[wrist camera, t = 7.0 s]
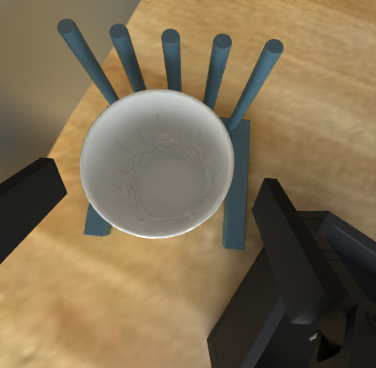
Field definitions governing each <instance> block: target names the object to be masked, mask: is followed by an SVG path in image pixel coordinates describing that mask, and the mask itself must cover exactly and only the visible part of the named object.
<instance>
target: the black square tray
mask: <svg viewBox="0 0 376 368" xmlns="http://www.w3.org/2000/svg"><path fill="white" fill-rule="evenodd" d="M297 212H298V214H299V215H300V217H301V218H302V220H303V222H304V223H305V225H306V226H307V228H308V230H309V231H317V232H318V233H319V234H320V235H321V236H322V237H324V238H325V239H326V240H327V241H328V243H329V244H330V246H331V247H332V249H333V250H334V253H336V254H337V256H338V257H339V259H340V262H342V263H343V264H344V266H345V267H346V269H347V270H348V272H349V273H350V275H351V276H352V278H353V279H354V280H355V282H356V283H357V285H358V286H359V288H360V289H361V291H362V292H363V293H364V295H365V296H366V298H367V299H368V300H369V301H370V302H371V303H374V304H376V242H375V241H373V240H372V239H370V238H369V237H367V236H366V235H364V234H363V233H361V232H360V231H358V230H357V229H355V228H354V227H352V226H351V225H349V224H348V223H346V222H345V221H343V220H342V219H340V218H339V217H337V216H336V215H334V214H333V213H331V212H330V211H297ZM318 329H320V326H319V324H318V321H317V319H316V320H315V321H314V322H312V323H311V324H309V325H306V324H295V323H290V320H289V317H288V314H287V311H286V308H285V305H284V302H283V299H282V297H281V294H280V291H279V288H278V285H277V282H276V279H275V276H274V273H273V270H272V267H271V264H270V262H269V259H268V256H267V253H266V250H265V247H263V249H262V250H261V252H260V253H259V255H258V257H257V258H256V260H255V262H254V263H253V265H252V267H251V268H250V270H249V271H248V273H247V275H246V276H245V278H244V280H243V281H242V283H241V285H240V286H239V288H238V289H237V291H236V293H235V294H234V296H233V298H232V299H231V301H230V302H229V304H228V306H227V307H226V309H225V311H224V312H223V314H222V316H221V317H220V319H219V320H218V322H217V324H216V325H215V327H214V329H213V330H212V332H211V334H210V335H209V337H208V338H207V343H208V349H209V355H210V361H211V367H212V368H308V367H309V363H310V359H311V355H312V351H313V347H314V343H315V339H316V338H315V339H313V340H312V341H310V340H309V339H308V338H309V336H310V335H311V334H312V333H314V332H315V331H317V330H318Z"/></svg>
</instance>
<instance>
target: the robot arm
mask: <svg viewBox="0 0 376 368" xmlns="http://www.w3.org/2000/svg"><path fill="white" fill-rule="evenodd" d="M66 194H67V191H66V188H65V186H64V184H63V181H62V179H61V176H60V174H59V171H58V169H57V166H56V164H55V162H54V159H52V158H39V159H38V160H36V161H35V162H33V163H32V164H30V165H29V166H27V167H26V168H24V169H23V170H21V171H19V172H18V173H16V174H15V175H13V176H12V177H10V178H9V179H7V180H5V181H4V182H2V183H1V184H0V264H1V263H2V262H3V261H4V260H5V259H6V258H7V257H8V255H9V254H10V253H11V252H12V251H13V250H14V249H15V248H16V247H17V246H18V245H19V244H20V243H21V242H22V241H23V240H24V239H25V238H26V236H27V235H28V234H29V233H30V232H31V231H32V230H33V229H34V228H35V227H36V226H37V225H38V224H39V223H40V222H41V221H42V220H43V219H44V217H45V216H46V215H47V214H48V213H49V212H50V211H51V210H52V209H53V208H54V207H55V206H56V205H57V204H58V203H59V202H60V201H61V200H62V199H63V197H64V196H65V195H66ZM252 212H253V215H254V218H255V221H256V224H257V226H258V229H259V232H260V235H261V238H262V241H263V244H264V247H265V250H266V253H267V256H268V259H269V262H270V264H271V267H272V270H273V273H274V276H275V279H276V282H277V285H278V288H279V291H280V294H281V297H282V299H283V302H284V305H285V308H286V311H287V314H288V317H289V320H290V323H295V324H306V325H309V324H311V323H312V322H314V321H315V320H316V319H317V321H318V324H319V326H320V329H318V330H317V331H315V332H314V333H312V334H311V335H310V336H309V338H308V339H309V340H310V341H312V340H313V339H315V338H316V339H315V343H314V347H313V351H312V355H311V359H310V363H309V367H308V368H376V304H374V303H371V302H370V301H369V300H368V299H367V298H366V296H365V295H364V293H363V292H362V291H361V289H360V288H359V286H358V285H357V283H356V282H355V280H354V279H353V278H352V276H351V275H350V273H349V272H348V270H347V269H346V267H345V266H344V264H343V263H342V262H340V259H339V257H338V256H337V254H336V253H334V250H333V249H332V247H331V246H330V244H329V243H328V241H327V240H326V239H325V238H324V237H322V236H321V235H320V234H319V233H318V232H317V231H309V230H308V228H307V226H306V225H305V223H304V222H303V220H302V218H301V217H300V215H299V214H298V212H297V210H296V209H295V207H294V206H293V204H292V202H291V201H290V199H289V198H288V196H287V195H286V193H285V191H284V190H283V188H282V187H281V185H280V183H279V182H278V180H277V179H271V178H264V180H263V183H262V185H261V188H260V191H259V193H258V196H257V198H256V201H255V203H254V206H253V208H252Z"/></svg>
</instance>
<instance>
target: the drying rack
mask: <svg viewBox="0 0 376 368" xmlns="http://www.w3.org/2000/svg"><path fill="white" fill-rule="evenodd" d="M57 29H58V32H59V33H60V34H61V36H62V37H63V39H64V40H65V42H66V43H67V44H68V46H69V47H70V49H71V50H72V52H73V53H74V54H75V56H76V57H77V59H78V60H79V62H80V63H81V64H82V66H83V67H84V69H85V70H86V71H87V73H88V74H89V76H90V77H91V79H92V80H93V82H94V83H95V84H96V86H97V87H98V89H99V90H100V92H101V93H102V94H103V96H104V97H105V99H106V100H107V102H108V103H109V104H110V105H111V104H112V103H114V102H116V101H117V100H119V98H118V96H117V94H116V92H115V91H114V89H113V87H112V86H111V84H110V82H109V80H108V79H107V77H106V75H105V73H104V72H103V70H102V68H101V67H100V65H99V63H98V61H97V60H96V58H95V56H94V55H93V53H92V51H91V49H90V48H89V46H88V44H87V42H86V41H85V39H84V37H83V36H82V34H81V32H80V30H79V29H78V27H77V25H76V24H75V22H74V21H72V20H71V19H64V20H61V21H60V22H59V23H58V25H57ZM109 33H110V37H111V39H112V41H113V44H114V46H115V48H116V51H117V53H118V55H119V58H120V60H121V63H122V65H123V67H124V70H125V72H126V74H127V77H128V79H129V81H130V84H131V86H132V88H133V91H134V93H135V92H139V91H143V90H147V89H146V86H145V83H144V80H143V77H142V73H141V70H140V67H139V64H138V61H137V58H136V54H135V51H134V48H133V45H132V42H131V38H130V35H129V32H128V29H127V28H126V27H125V26H124V25H122V24H115V25H113V26H112V27H111V28H110V32H109ZM161 39H162V46H163V54H164V61H165V68H166V76H167V83H168V90H174V91H178V92H182V89H181V55H180V35H179V33H178V32H177V31H176V30H174V29H167V30H165V31H164V32H163V33H162V36H161ZM231 45H232V41H231V38H230V37H229V36H228V35H226V34H219V35H217V36H216V37H215V38H214V40H213V46H212V52H211V58H210V64H209V70H208V76H207V82H206V88H205V95H204V101H203V103H204V104H205V105H207V106H208V107H209V108H210V109H211V110H212V111H213V110H214V106H215V103H216V99H217V95H218V92H219V88H220V84H221V81H222V77H223V74H224V70H225V66H226V63H227V59H228V56H229V52H230V48H231ZM282 52H283V44H282V42H280V41H279V40H277V39H271V40H269V41H268V42H267V43H266V44H265V46H264V48H263V50H262V53H261V55H260V57H259V59H258V61H257V63H256V65H255V67H254V69H253V71H252V73H251V76H250V78H249V80H248V82H247V84H246V86H245V88H244V90H243V92H242V94H241V96H240V99H239V101H238V103H237V105H236V107H235V109H234V111H233V113H232V115H231V117H230V118H222V117H219V118H220V120H221V121H222V123H223V124H224V126H225V128H226V130H227V132H228V134H229V136H230V139H231V142H232V146H233V151H234V173H233V178H232V182H231V185H230V188H229V190H228V193H227V195H226V197H225V206H224V222H223V238H222V245H223V246H224V247H225V248H228V249H239V250H245V228H246V205H247V181H248V158H249V135H250V120H243V119H242V118H243V116H244V114H245V113H246V111H247V109H248V108H249V106H250V105H251V103H252V101H253V100H254V98H255V96H256V95H257V93H258V91H259V90H260V88H261V86H262V85H263V83H264V81H265V80H266V78H267V77H268V75H269V73H270V72H271V70H272V68H273V67H274V65H275V63H276V62H277V60H278V58H279V57H280V55H281V53H282ZM107 107H108V106H107ZM110 229H111V224H110V223H108V222H107V221H106V220H105V219H103V218H102V217H101V216H100V215H99V214H98V213H97V211H96V210H95V209H94V208H93V206H92V205H91V203H90V202H89V208H88V213H87V219H86V224H85V230H84V235H92V236H106V235H109V234H110Z"/></svg>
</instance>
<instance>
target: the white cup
mask: <svg viewBox="0 0 376 368" xmlns="http://www.w3.org/2000/svg"><path fill="white" fill-rule="evenodd" d="M233 173H234V151H233V146H232V142H231V139H230V136H229V134H228V132H227V130H226V128H225V126H224V124H223V123H222V121H221V120H220V118H219V117H218V116H217V115H216V114H215V113H214V112H213V111H212V110H211V109H210V108H209V107H208V106H207V105H205V104H204V103H203V102H201V101H200V100H198V99H196V98H194V97H192V96H190V95H188V94H185V93H182V92H178V91H174V90H168V89H150V90H143V91H139V92H135V93H132V94H129V95H127V96H125V97H123V98H121V99H119V100H117V101H116V102H114V103H112V104H111V105H110V106H108V107H107V108H106V109H105V110H104V111H103V112H102V113H101V114H100V115H99V116H98V117H97V118H96V120H95V121H94V122H93V124H92V125H91V127H90V129H89V130H88V132H87V134H86V137H85V139H84V142H83V145H82V149H81V154H80V176H81V181H82V185H83V188H84V191H85V194H86V196H87V198H88V200H89V201H90V203H91V205H92V206H93V208H94V209H95V210H96V211H97V213H98V214H99V215H100V216H101V217H102V218H103V219H105V220H106V221H107V222H108V223H110V224H111V225H112V226H114V227H116V228H117V229H119V230H121V231H123V232H126V233H128V234H131V235H135V236H139V237H144V238H166V237H172V236H176V235H180V234H183V233H185V232H188V231H190V230H192V229H194V228H196V227H197V226H199V225H200V224H202V223H203V222H204V221H206V220H207V219H208V218H209V217H210V216H211V215H212V214H213V213H214V212H215V211H216V210H217V209H218V208H219V206H220V205H221V203H222V202H223V200H224V199H225V197H226V195H227V193H228V190H229V188H230V185H231V182H232V178H233Z"/></svg>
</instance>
